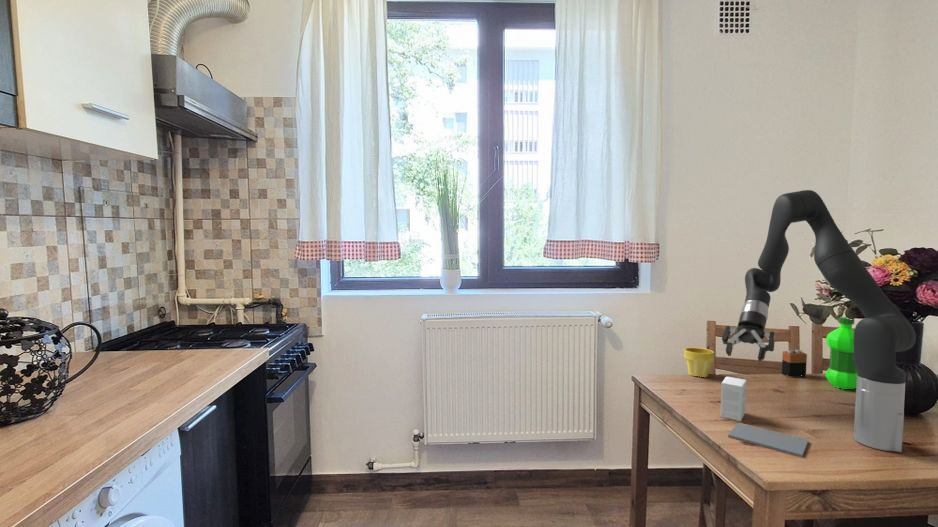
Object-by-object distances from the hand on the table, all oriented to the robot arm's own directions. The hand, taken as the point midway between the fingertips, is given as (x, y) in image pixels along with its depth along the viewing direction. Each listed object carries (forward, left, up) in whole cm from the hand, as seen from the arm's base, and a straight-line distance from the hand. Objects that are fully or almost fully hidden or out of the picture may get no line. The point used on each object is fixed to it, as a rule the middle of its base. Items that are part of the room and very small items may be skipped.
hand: (743, 357), depth 142 cm
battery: (-7, -49, -16) cm, 52 cm away
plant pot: (+20, -24, -16) cm, 35 cm away
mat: (-11, +23, -15) cm, 30 cm away
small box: (0, +11, -16) cm, 19 cm away
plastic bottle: (-22, -44, -16) cm, 51 cm away
